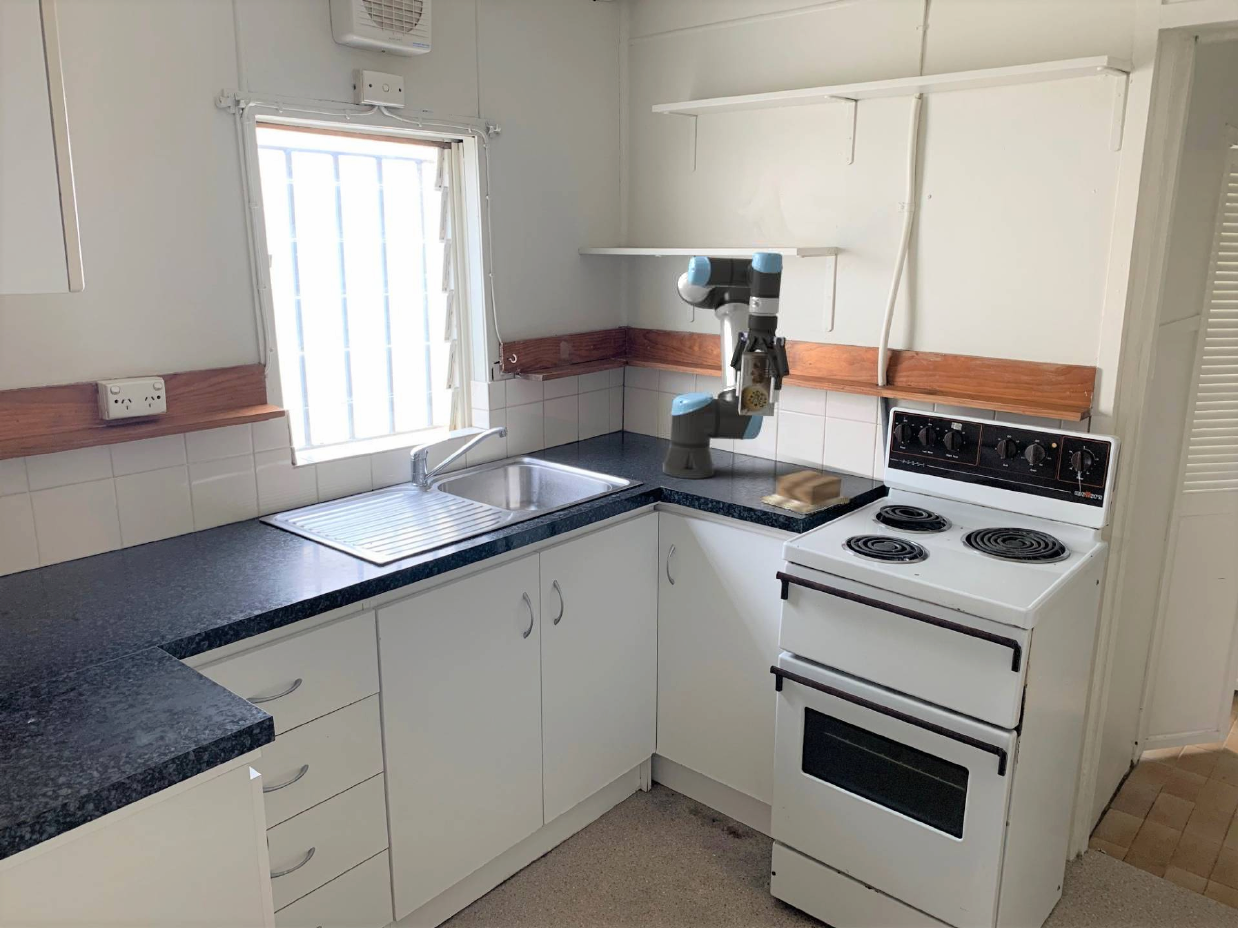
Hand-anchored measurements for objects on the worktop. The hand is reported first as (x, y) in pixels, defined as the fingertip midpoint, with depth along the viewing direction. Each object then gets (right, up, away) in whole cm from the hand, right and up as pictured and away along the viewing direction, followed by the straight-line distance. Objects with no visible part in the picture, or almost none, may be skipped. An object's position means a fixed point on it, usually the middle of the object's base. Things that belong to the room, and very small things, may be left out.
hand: (756, 398), depth 241 cm
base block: (+14, -26, +4) cm, 30 cm away
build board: (+14, -28, +4) cm, 31 cm away
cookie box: (0, -4, +1) cm, 4 cm away
